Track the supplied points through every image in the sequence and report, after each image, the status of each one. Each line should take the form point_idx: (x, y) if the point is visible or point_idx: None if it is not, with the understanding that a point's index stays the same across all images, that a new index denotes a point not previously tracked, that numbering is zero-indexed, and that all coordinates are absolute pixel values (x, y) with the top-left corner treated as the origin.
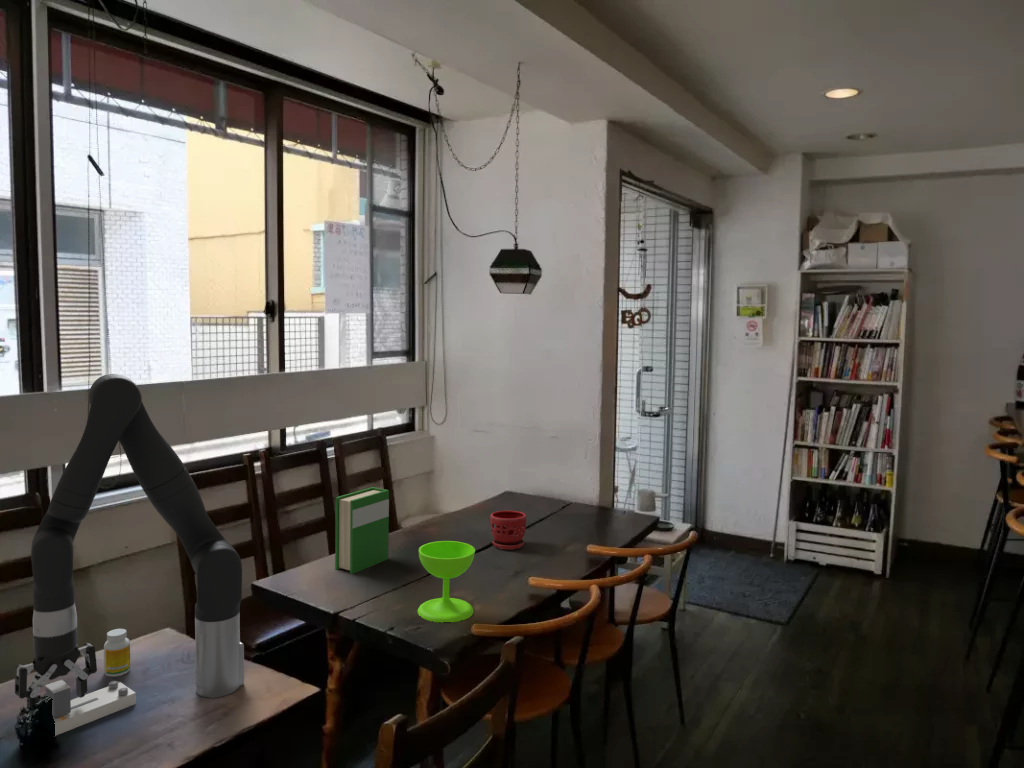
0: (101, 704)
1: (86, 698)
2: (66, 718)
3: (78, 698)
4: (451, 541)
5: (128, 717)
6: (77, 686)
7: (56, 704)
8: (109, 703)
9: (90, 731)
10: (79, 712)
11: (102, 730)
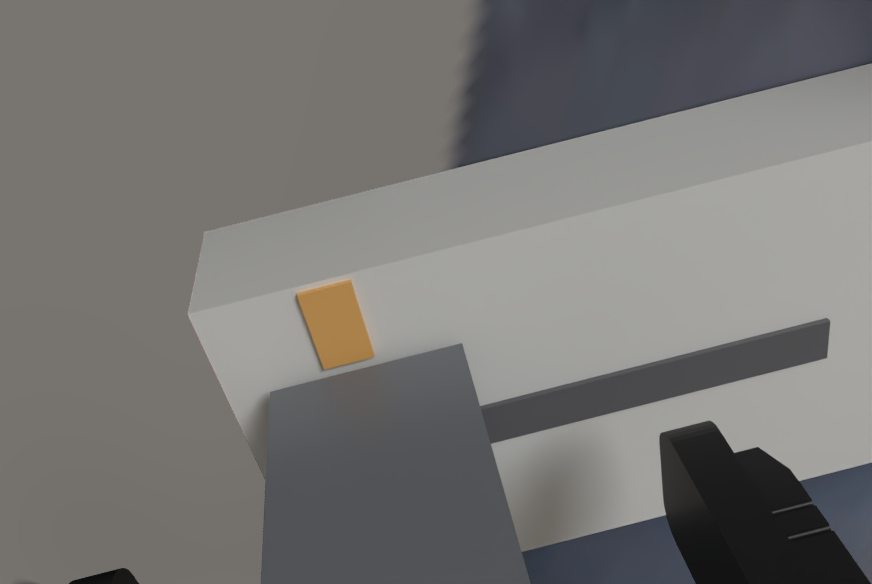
0: (789, 466)
1: (744, 268)
2: None
3: (676, 218)
4: None
5: (857, 485)
6: (720, 560)
7: None
8: (851, 460)
9: (572, 544)
10: (573, 515)
11: (642, 563)
